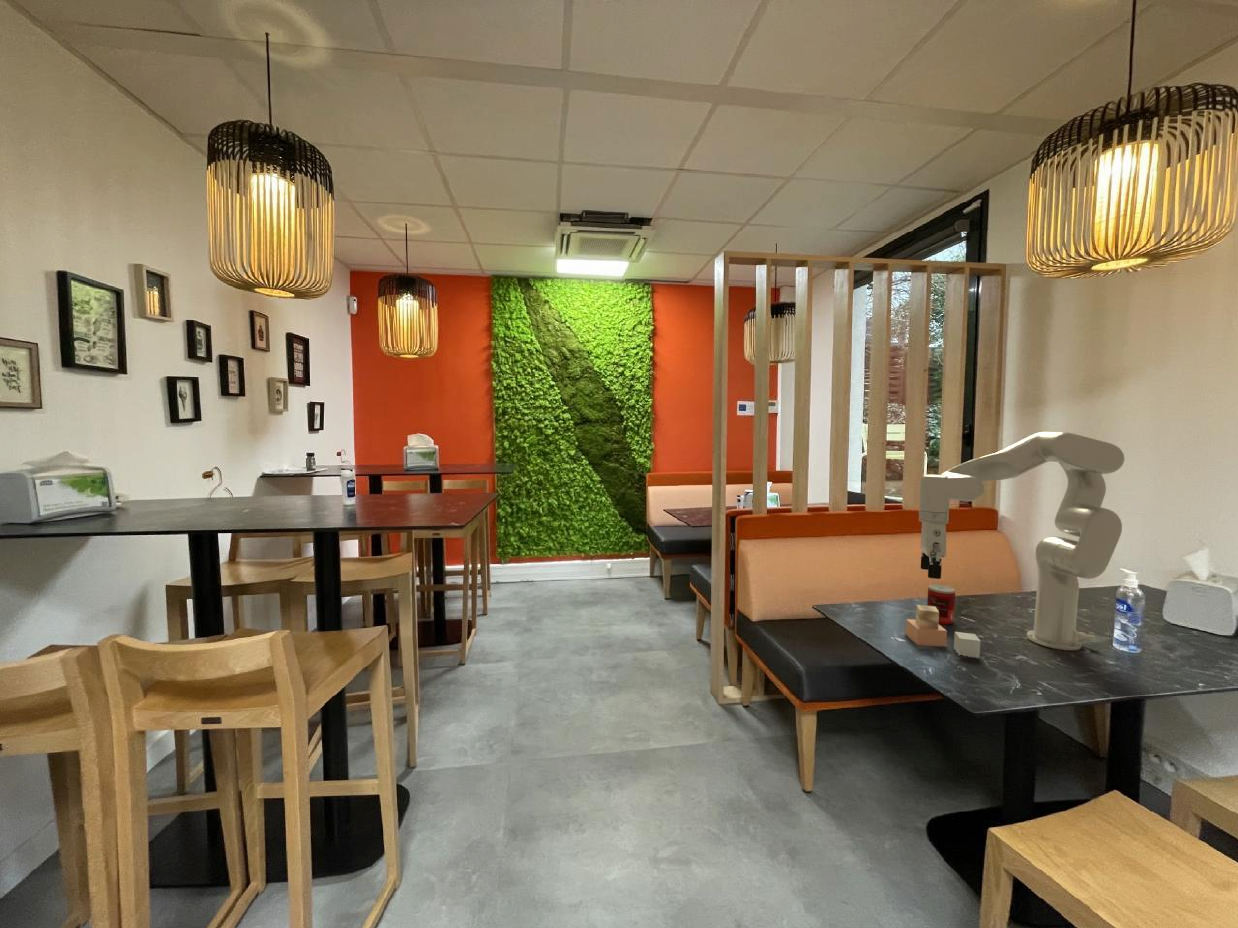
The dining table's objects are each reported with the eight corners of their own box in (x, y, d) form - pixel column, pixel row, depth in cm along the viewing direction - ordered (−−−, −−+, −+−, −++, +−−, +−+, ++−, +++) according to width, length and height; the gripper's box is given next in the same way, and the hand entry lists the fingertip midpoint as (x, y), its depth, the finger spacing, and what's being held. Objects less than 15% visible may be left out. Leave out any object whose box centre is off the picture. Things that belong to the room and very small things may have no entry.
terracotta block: (932, 636, 162) (933, 620, 161) (945, 647, 154) (946, 630, 153) (905, 634, 163) (906, 619, 162) (916, 645, 155) (917, 629, 154)
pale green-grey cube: (973, 650, 151) (974, 634, 151) (979, 658, 146) (980, 640, 146) (953, 648, 153) (954, 631, 152) (958, 655, 148) (959, 638, 148)
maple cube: (934, 622, 159) (935, 606, 159) (938, 628, 155) (939, 612, 154) (915, 620, 161) (916, 604, 161) (918, 626, 156) (919, 609, 156)
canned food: (945, 616, 178) (947, 584, 177) (958, 625, 170) (960, 592, 169) (921, 615, 179) (923, 583, 178) (933, 624, 171) (935, 591, 170)
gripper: (956, 522, 146) (952, 583, 147) (940, 512, 162) (937, 567, 164) (925, 521, 148) (922, 580, 150) (913, 511, 165) (910, 565, 166)
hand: (930, 573), depth 157 cm, fingers open, 9 cm apart
